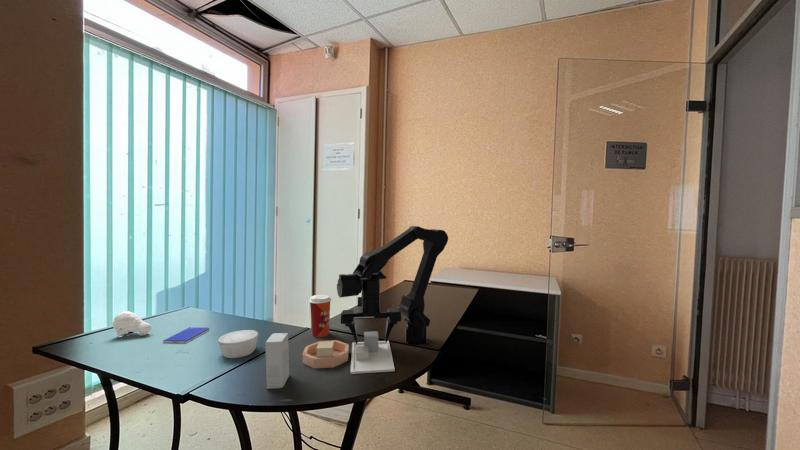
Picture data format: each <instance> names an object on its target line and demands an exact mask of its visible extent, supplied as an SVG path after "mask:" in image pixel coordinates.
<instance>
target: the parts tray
mask: <svg viewBox="0 0 800 450" xmlns="http://www.w3.org/2000/svg"><path fill="white" fill-rule="evenodd" d="M356 346H364V341H357V344H356V342H355V341H354V342H352V344H351V359H350V375H355V374H356V375H357V374H374V373H375V374H376V373H388V372H389V373H390V372H395V363H394V358H393V354H392V349H391V346H390V341H389V340H387V342H385V340H378V352H373V353H368V357H369V360H361V361H356Z"/></svg>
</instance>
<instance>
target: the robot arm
mask: <svg viewBox="0 0 800 450" xmlns="http://www.w3.org/2000/svg"><path fill="white" fill-rule="evenodd" d="M417 240H420V241H422V247H423V253H422V257H421V260H420V263H419V266H418V268H417V271H416V275H415V277H414V281H413V283H412V286H411V289H410V292H409V293H408V294H407V295H404V294H402V295H401V301H400V303H399V304H398V307H399V308H398V307H390V308H389V307H387V311H381V280H386V279H387V276H386V275H385V274H384V273H383V271H381V270H382V269H383V268H384V267H385V266H386V265H387V264H388V263H389V261H390V259H392V257H394V256H396V255H397V254H398V253H400V252H401V251H402V250H403V249H405V248H406V247H407V248H408V246H409V245H410V244H412V243H414V242H415V241H417ZM448 241H449V236H448V233H447V232H446V231H445V230H443V229H436V228H435V229H433V228H431V229H427V228H423V227H421V226H419V225H418V226H417V225H412V226H410V227H408V228H407V229H406V230H404V231H403V232H402V233H400V234H399V235H397V236H396V237H394V238H393V239H391V240H390V241H389V242H387V243H385V244H384V245H383V246H381V247H378V248H376V249H372V250H370V251H367V252H365V253H364V254H362V255H361V256H360V258H359V262H358V264H357V266H356V268H355V269H354V271H353V272H352V273H349V274H344V273H342V274H339V275H338V279H337V284H336V290H337V291H336V294H337V296H338V297H339V298H348V297H357V308H361V312H355V310H354V309H343V310H342V311H341V313H340V324H342V325H344V326H345V327H347V328H348V329H349V330H350V332H351V333H352V336H353V337H352V338H353V339H354V342H356V344H357V342H358V333H357V325H356V320H368V319H371V320H372V319H386V323H385V324H386V325H385V334H384V341H385V342H387V341H389V337H390V333H391V331H392V329H393V328H394V326H395V325H398V322H401V321H402V318H403V319H404V321H405V322H406V326H405V328H404V333H405V334H404V339H405V341H406V342H407V345H409V346H413V345H428V340H427V327H429V326H430V322H431V319H430V318H428V316H427V315H426V314H425V309H426V306H425V294H426V291H427V289H428V286H429V283H430V279H431V276H432V273H433V271H434V268H435V264H436V261H437V258H438V256H439V255H441V253H442V252H443V251H444V250H445V248H446V245H447V244H448ZM360 294H361V296H359V295H360Z"/></svg>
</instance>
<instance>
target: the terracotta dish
mask: <svg viewBox="0 0 800 450" xmlns="http://www.w3.org/2000/svg"><path fill="white" fill-rule="evenodd" d="M318 342H334V356H333V357H317V349H316V348H317V345H318ZM349 349H350V346H349V343H345V342H344V341H341V340H337V339H334V340H319V341H316V342H314V343H311V344H309V345H306V346H305V347H304V350H303V352H302V364H304V365H306V366H308V367H310V368H312V369H327V368H335V367H338V366H339V365H342V364H344V363H346V362H348V361H349V351H350V350H349Z"/></svg>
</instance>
